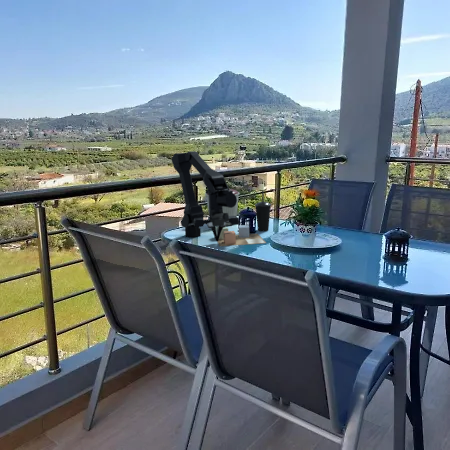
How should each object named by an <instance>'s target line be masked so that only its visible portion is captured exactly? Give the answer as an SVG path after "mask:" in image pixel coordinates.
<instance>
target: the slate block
mask: <svg viewBox="0 0 450 450" xmlns="http://www.w3.org/2000/svg"><path fill="white" fill-rule="evenodd" d="M249 234H250V226H249V225H248V224H246V225H245V224H243V225H241V224H239V225H238V235H239V238H240V237H249Z"/></svg>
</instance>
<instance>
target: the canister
mask: <svg viewBox="0 0 450 450" xmlns="http://www.w3.org/2000/svg"><path fill="white" fill-rule="evenodd" d="M222 188H223V187H222ZM229 190H232V191H233V194H234V195H235V196H236V198H237V202H236V205H235V206H234V207H232V208H229V207H224V206H223V213H228V214H229V216H237V217H238V205H239V195H240V192H239V191H237V189H233V188H232V189H231V188H229ZM204 196H206V202H207V204H206V205H207V211H208V212H209V194H206V193H204ZM225 225H226V227H227V226H233V225H232V224H231V223H226V224H225Z"/></svg>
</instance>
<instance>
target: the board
mask: <svg viewBox="0 0 450 450" xmlns="http://www.w3.org/2000/svg"><path fill="white" fill-rule="evenodd" d="M216 242H217V244H218V246H219V247H229V246H245V245H257V244H259V245H261V244H267V242H266V240H264V239H263V238H262V237H261V236H260V234H259V233H249V237H240V238H239V234H236V244H225V243H224V239H219V240H218V241H216Z"/></svg>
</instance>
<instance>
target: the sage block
mask: <svg viewBox="0 0 450 450" xmlns="http://www.w3.org/2000/svg"><path fill="white" fill-rule="evenodd" d="M215 227H216V234H217V226H215ZM224 231H229V228H228V227H227V226H226V227H224V228H223V229H222V231H221V233H220V237H219V239H224Z"/></svg>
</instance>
